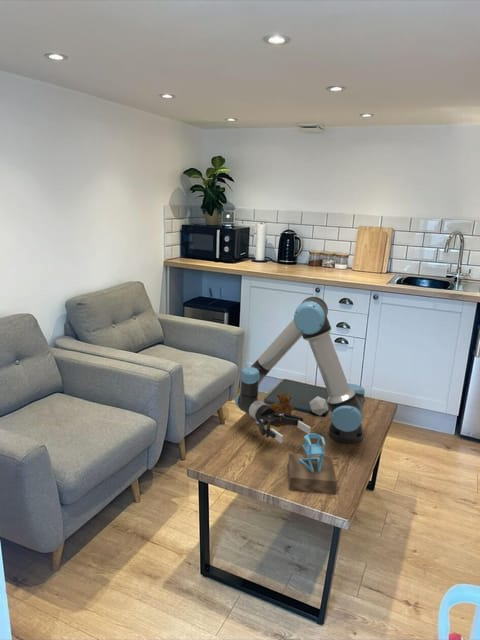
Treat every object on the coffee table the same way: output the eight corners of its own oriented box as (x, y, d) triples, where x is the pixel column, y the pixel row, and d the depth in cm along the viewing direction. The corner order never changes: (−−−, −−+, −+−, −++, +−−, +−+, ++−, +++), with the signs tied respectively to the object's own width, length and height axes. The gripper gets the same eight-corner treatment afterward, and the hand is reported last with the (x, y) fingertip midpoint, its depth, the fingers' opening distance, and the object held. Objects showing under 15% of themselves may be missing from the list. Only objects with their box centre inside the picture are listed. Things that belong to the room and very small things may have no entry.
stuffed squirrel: (299, 421, 214) (301, 395, 211) (278, 430, 205) (280, 403, 202) (282, 413, 221) (284, 388, 218) (262, 422, 212) (263, 395, 209)
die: (311, 409, 230) (304, 397, 224) (327, 402, 228) (321, 390, 223) (316, 421, 223) (309, 410, 217) (332, 414, 222) (326, 402, 216)
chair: (305, 473, 164) (308, 442, 161) (298, 460, 172) (301, 431, 169) (326, 472, 166) (329, 441, 163) (318, 459, 174) (321, 430, 171)
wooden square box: (330, 468, 177) (331, 456, 176) (335, 493, 162) (337, 481, 161) (287, 465, 178) (288, 453, 177) (289, 490, 163) (290, 477, 162)
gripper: (285, 414, 199) (319, 436, 182) (236, 428, 185) (269, 452, 168) (286, 398, 197) (321, 418, 180) (237, 410, 183) (270, 433, 167)
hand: (296, 435), depth 174 cm, fingers open, 13 cm apart
